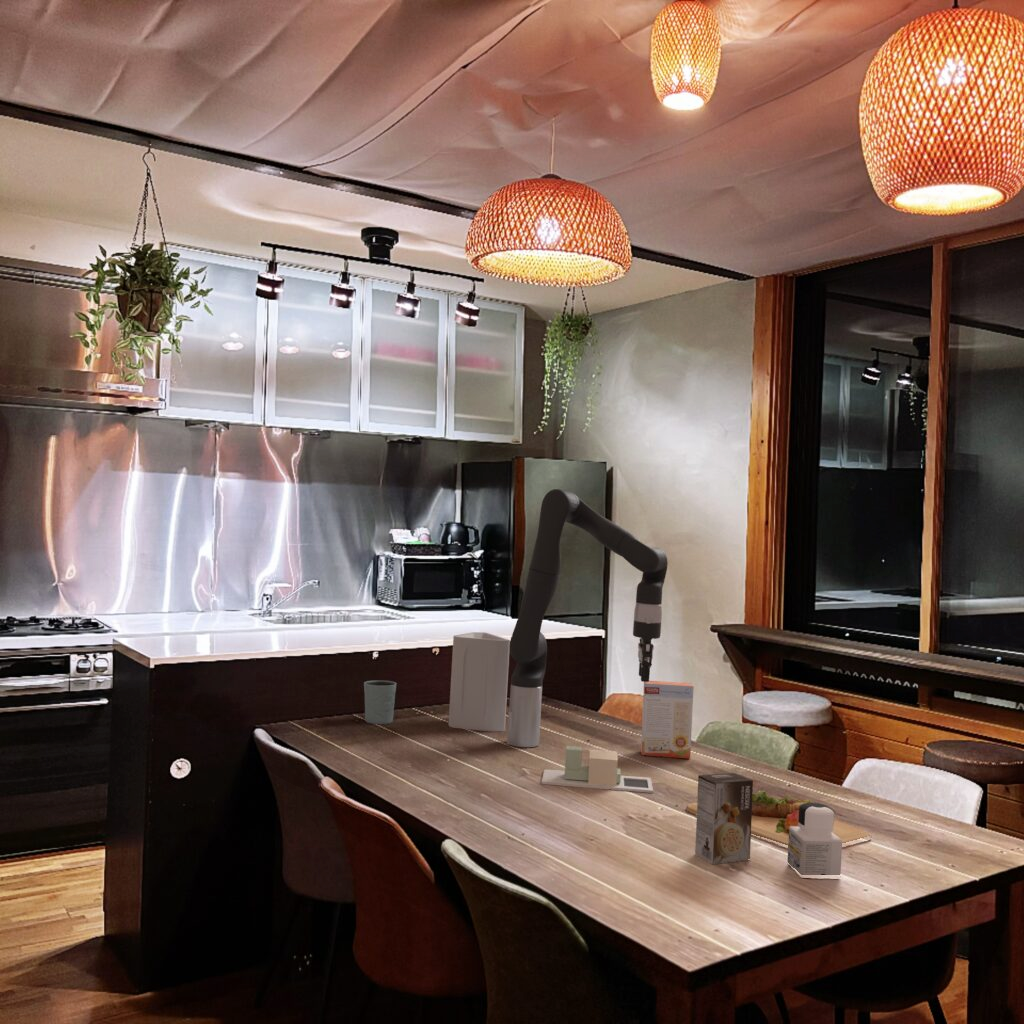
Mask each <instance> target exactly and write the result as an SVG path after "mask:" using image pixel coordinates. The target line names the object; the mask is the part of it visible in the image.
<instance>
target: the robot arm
mask: <svg viewBox="0 0 1024 1024" xmlns="http://www.w3.org/2000/svg"><path fill="white" fill-rule="evenodd" d="M539 513H540V514H539V522H538V528H537V535H536V539H535V542H534V548H533V552H532V556H531V560H530V564H529V567H528V573H527V575H526V580H525V581H526V582H525V586H524V590H523V595H522V599H521V605H520V610H519V614H518V617H517V620H516V624H515V626H514V629H513V632H512V633H511V634H512V635H511V637H510V639H509V640H510V645H509V654H510V655H511V657H512V659H514V661H515V662H516V663H515V667H514V670H513V672H512V674H511V676H510V691H509V707H508V708H509V709H508V714H507V731H506V733H507V734H506V745H507V746H513V747H518V748H534V747H538V746H539V745H540V738H541V737H540V735H541V734H540V732H541V713H542V699H543V698H542V695H543V680H544V678H545V674H546V667H547V656H548V655H547V654H548V644H547V643H548V642H547V640H546V639H547V638H546V636H545V634H543V633H542V632H541V629H542V625H543V624H542V623H543V621H544V617H545V616H546V613H547V611H548V609H549V607H550V606H551V604H552V601H553V599H554V597H555V595H556V592H557V590H558V586H559V582H560V578H561V574H562V553H561V538H562V534H563V529H564V527H565V523H569V524H571V525H573V526H576V527H578V528H581V529H583V530H584V531H585V532H586V533H588V534H589V535H591V536H592V537H593V538H594V539H595V540H596V541H597V542H598V543H599V544H601V545H603V546H604V547H605V548H607V549H608V550H610V551H611V552H613V553H615V554H616V555H618V556H620V557H621V558H623V559H624V560H625V561H627V562H628V564H630V565H631V566H632V567H633V568H635V569H636V570H638V571H640V572H642V575H641V581H640V582H639V583H638V584H637V586H636V595H635V606H634V610H633V611H634V613H633V627H632V636H633V637H635V638H639V642H638V643H637V644H638V645H637V648H638V650H637V651H638V652H637V657H638V663H639V665H638V676H639V677H640V681H641V682H643V683H644V682H648V681H650V675H651V674H650V671H651V668H652V666H653V664H652V661H653V656H654V653H653V652H654V649H655V648H654V644H653V643H652V640H655V639H660V638H661V632H662V631H661V630H662V616H663V615H662V614H663V607H662V603H663V587H664V583H665V578H666V575H667V573H668V572H667V570H668V557H667V554H666V552H665V551H664V550H663V549H661V548H659V547H650V546H648V545H646V544H645V543H643V542H642V541H640V540H639V539H638V537H637V536H635V535H634V534H633V533H632V532H629V530H627V529H625V528H623V527H621V526H620V525H618V524H616V523H615V522H613V521H611V520H610V519H608V518H606V517H604V516H602V515H601V514H600V513H598V512H597V511H595V510H594V509H593V508H591V507H590V505H588V504H586V503H585V502H584V501H583V500H582V499H581V498H580V497H578V496H577V495H576V494H575V493H574V492H572V491H569V490H565V489H560V488H555V489H554V488H553V489H551V490H549V491H548V492H547V493H546V494H545V495H544V497H543V499H542V501H541V506H540V512H539Z"/></svg>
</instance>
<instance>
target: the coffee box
mask: <svg viewBox="0 0 1024 1024" xmlns="http://www.w3.org/2000/svg"><path fill="white" fill-rule="evenodd" d="M697 776H698V778H697V780H698V781H697V782H698V783H697V801H696V802H697V815H696V822H695V823H696V825H695V827H696V830H695V845H694V846H695V847H694V849H695V850H694V855H695V856H697V855H698V856H697V857H700V858H701V859H702V860H705V861H706V862H708V863H709V862H710V863H709V864H711V865H713V864H714V865H720V863H722V864H727V863H728V862H730V863H735V862H734V861H738V862H742V861H741V860H747V861H749V860H748V859H750V860H751V841H752V840H751V839H752V836H751V820H752V795H753V794H754V793H753V792H754V790H753V788H754V780H752V779H750V778H748V777H746V776H743V775H740V774H739V773H735V772H729V773H713V774H712V773H711V774H702V775H701V774H698V775H697Z"/></svg>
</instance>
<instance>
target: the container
mask: <svg viewBox="0 0 1024 1024" xmlns="http://www.w3.org/2000/svg"><path fill="white" fill-rule="evenodd" d="M834 821H835V811H834V809H833V808H832V807H830V806H828V805H827V804H823V803H819V802H814V803H805V804H802V805H800V806H799V818H798V826H799V827H798V826H790V827H789V842H788V849H787V862H788V863H789V864H790V865H791V866H792V867H793V868H795V869H796V870H797V871H798V872H799V873H800V874H801V875H840V874H841V873H842V872H841V871H842V854H843V851H842V850H843V848H842V840H841V839H840V838H839V837H837V836H836V835H835V834H834V833H832V832H833V827H834ZM787 862H786V863H787ZM841 875H842V874H841Z"/></svg>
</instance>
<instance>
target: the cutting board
mask: <svg viewBox="0 0 1024 1024" xmlns="http://www.w3.org/2000/svg"><path fill="white" fill-rule="evenodd" d="M805 803H815V802H813V801H812V800H811V799H808V798H807V799H804V800H802V799H797V798H795V797H793V796H789V795H786V796H785V797H782V798H775V797H774V796H772V797H769V796H768V795H767V792H766V790H758V791H757V792H756V793H753V795H752V820H751V834H754V835H756V836H760V837H764V838H767V839H770V840H773V841H776V842H779V843H782V844H785V845H788V842H789V827H790V826H798V818H799V806H800V805H802V804H805ZM685 809H686V810H687V812H688V811H689V812H688V813H690V812H691V813H690V814H692V813H694V814H693V815H695V814H697V801H696V802H693V803H687V804H686V808H685ZM798 827H799V826H798ZM832 833H834V834H835V835H836V836H837V837H839V838H840V839H841V840H842V843H846V842H849V841H853V840H857V839H860V838H864V837H867V836H871V837H872V834H870V833H869V832H867V830H864V829H862V828H858V827H855V826H852V825H850V824H847V823H843V822H840V821H837V820H834V827H833V832H832Z"/></svg>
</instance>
